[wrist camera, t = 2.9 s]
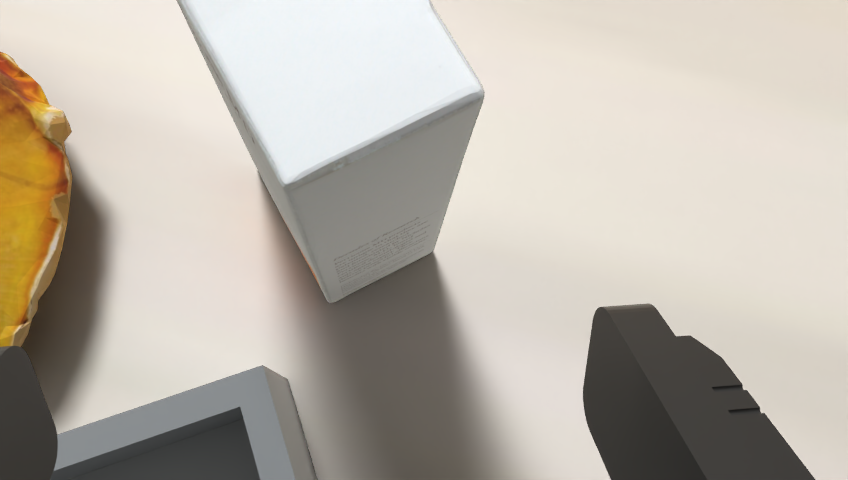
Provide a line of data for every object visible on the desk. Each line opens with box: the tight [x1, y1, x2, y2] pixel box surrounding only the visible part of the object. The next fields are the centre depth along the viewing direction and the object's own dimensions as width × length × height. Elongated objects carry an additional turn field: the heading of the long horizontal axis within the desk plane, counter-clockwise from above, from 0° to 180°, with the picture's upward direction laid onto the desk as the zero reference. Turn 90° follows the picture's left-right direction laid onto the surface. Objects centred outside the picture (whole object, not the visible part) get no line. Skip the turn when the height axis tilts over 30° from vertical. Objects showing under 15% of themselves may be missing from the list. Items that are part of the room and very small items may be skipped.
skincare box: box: [177, 0, 484, 303], centre depth 18 cm, size 6×4×12 cm
